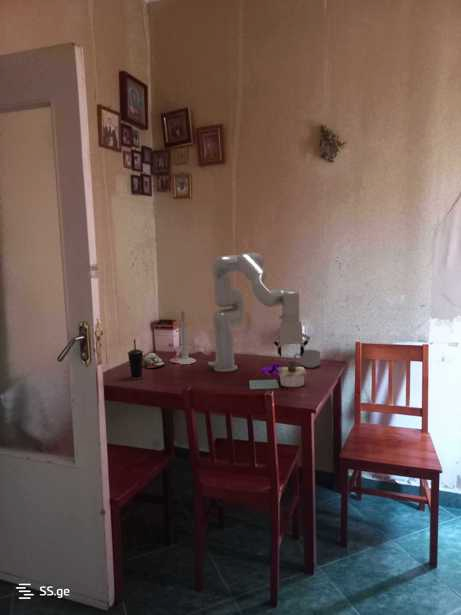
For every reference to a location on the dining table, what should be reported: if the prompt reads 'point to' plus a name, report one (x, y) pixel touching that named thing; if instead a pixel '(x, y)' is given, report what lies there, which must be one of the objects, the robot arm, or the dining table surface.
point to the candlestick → (184, 344)
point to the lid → (291, 370)
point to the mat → (263, 384)
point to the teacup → (309, 358)
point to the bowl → (292, 381)
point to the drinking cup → (135, 362)
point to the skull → (152, 360)
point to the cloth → (271, 369)
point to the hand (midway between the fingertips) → (290, 355)
